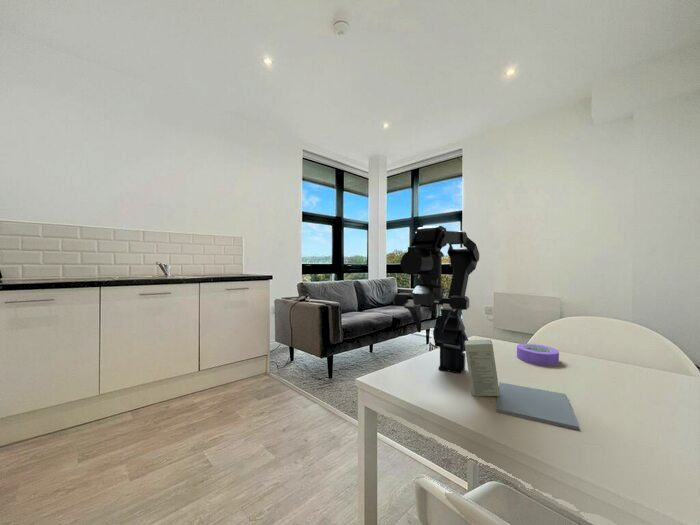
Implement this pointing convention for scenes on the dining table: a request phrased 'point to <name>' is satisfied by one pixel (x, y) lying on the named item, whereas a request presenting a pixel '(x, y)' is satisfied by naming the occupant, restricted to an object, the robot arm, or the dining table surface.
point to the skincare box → (482, 368)
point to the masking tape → (537, 354)
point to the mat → (536, 405)
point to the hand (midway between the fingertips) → (430, 333)
